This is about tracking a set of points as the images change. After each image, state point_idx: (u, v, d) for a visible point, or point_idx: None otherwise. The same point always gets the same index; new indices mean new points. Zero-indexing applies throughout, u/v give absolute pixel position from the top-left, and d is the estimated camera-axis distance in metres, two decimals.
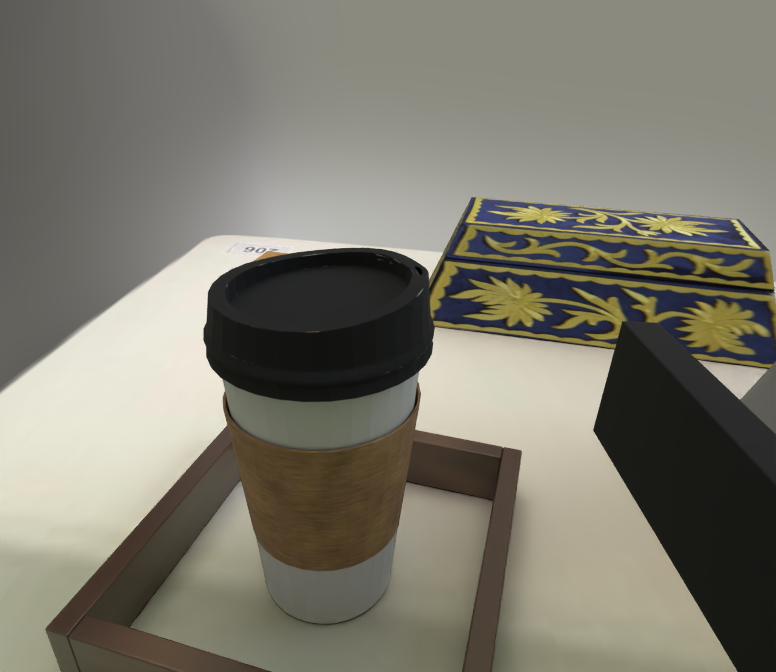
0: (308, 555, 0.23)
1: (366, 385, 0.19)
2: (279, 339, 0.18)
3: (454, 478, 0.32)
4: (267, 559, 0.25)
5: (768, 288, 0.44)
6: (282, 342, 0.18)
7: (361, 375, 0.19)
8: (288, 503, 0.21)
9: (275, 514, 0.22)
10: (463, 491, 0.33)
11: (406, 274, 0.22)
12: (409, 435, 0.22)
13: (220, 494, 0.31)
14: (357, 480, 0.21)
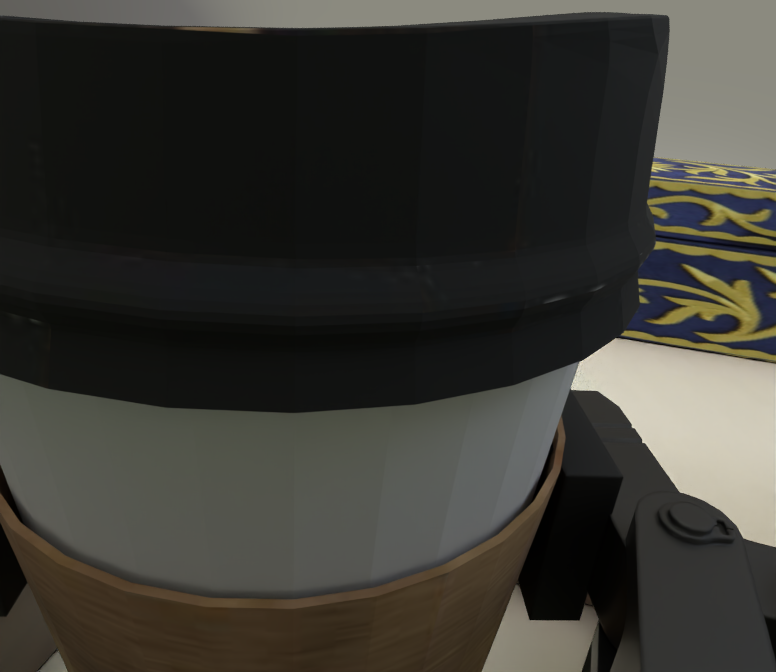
0: None
1: (465, 348, 0.04)
2: (47, 74, 0.04)
3: None
4: None
5: None
6: (60, 89, 0.03)
7: (451, 300, 0.04)
8: None
9: None
10: None
11: None
12: (537, 527, 0.08)
13: None
14: None
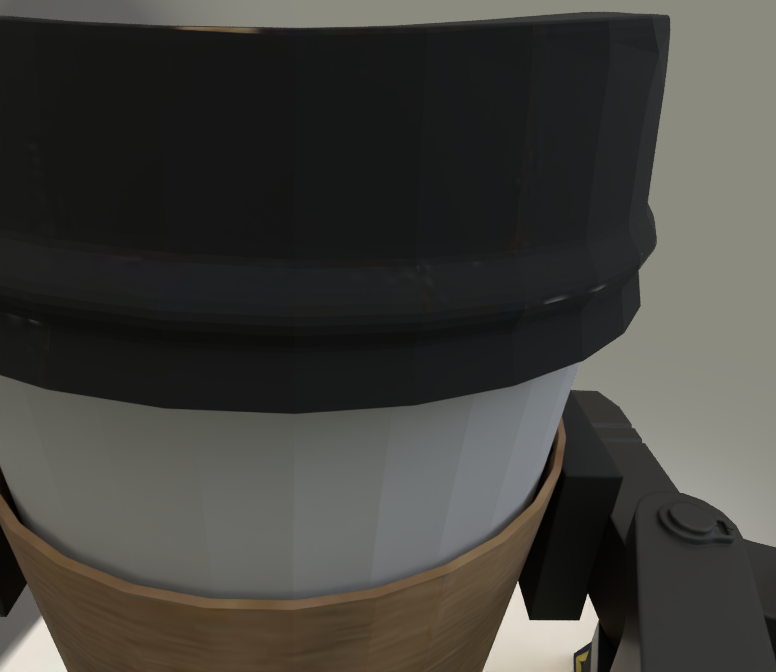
0: None
1: (465, 349, 0.04)
2: (46, 74, 0.03)
3: None
4: None
5: None
6: (59, 90, 0.03)
7: (449, 302, 0.04)
8: None
9: None
10: None
11: None
12: (538, 527, 0.08)
13: None
14: None
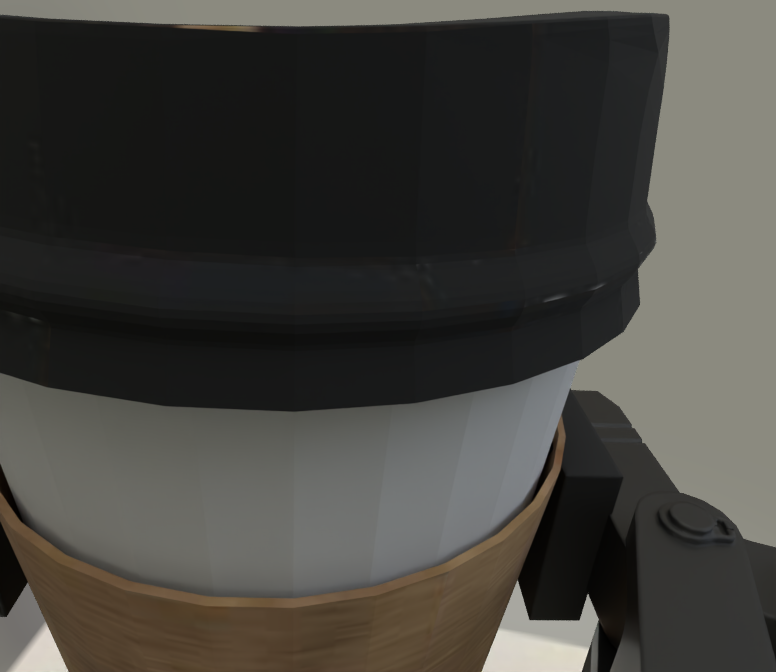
0: None
1: (465, 347, 0.04)
2: (47, 73, 0.04)
3: None
4: None
5: None
6: (58, 87, 0.03)
7: (449, 299, 0.04)
8: None
9: None
10: None
11: None
12: (537, 526, 0.08)
13: None
14: None
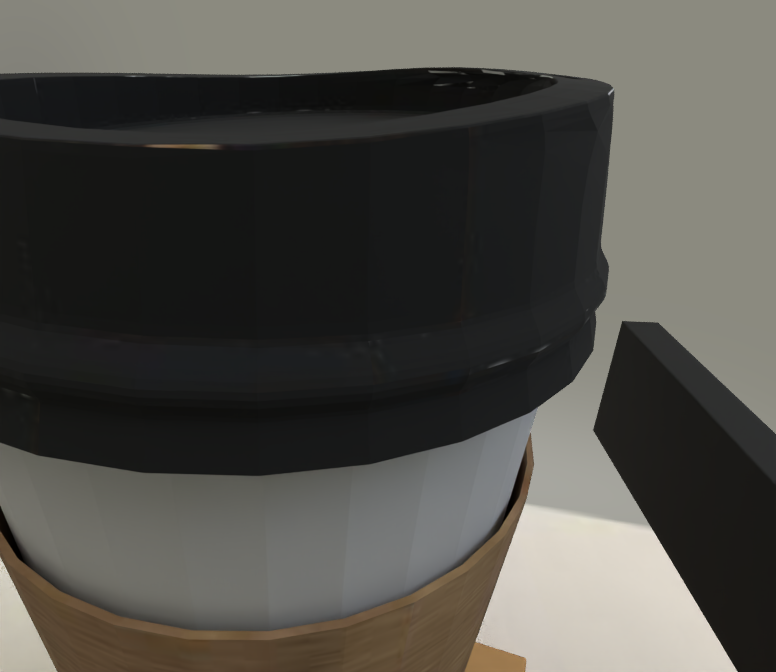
0: None
1: (415, 412, 0.05)
2: (33, 182, 0.04)
3: None
4: None
5: None
6: (42, 195, 0.04)
7: (399, 371, 0.04)
8: None
9: None
10: None
11: None
12: (507, 551, 0.08)
13: None
14: None
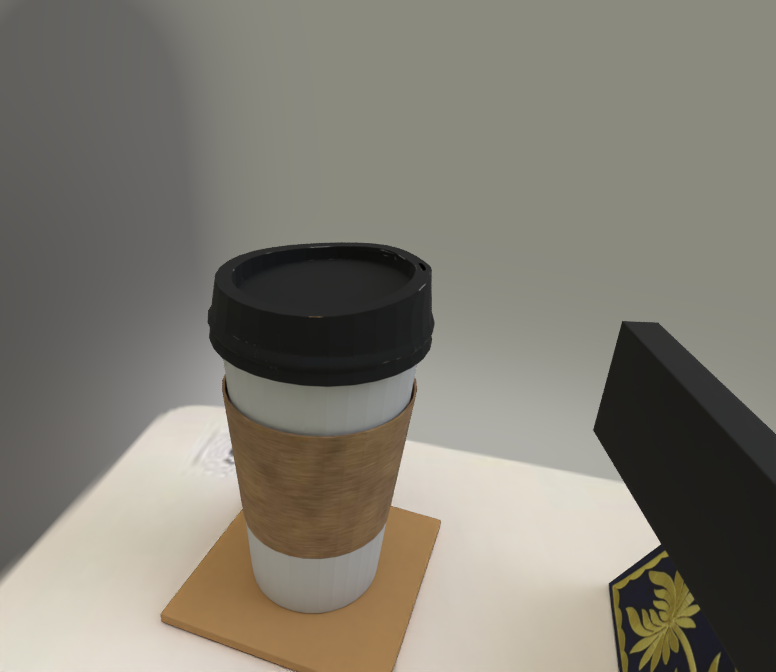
0: (297, 542, 0.23)
1: (364, 373, 0.19)
2: (282, 322, 0.19)
3: None
4: (255, 545, 0.25)
5: None
6: (284, 325, 0.18)
7: (360, 363, 0.19)
8: (280, 487, 0.22)
9: (266, 498, 0.22)
10: None
11: (410, 270, 0.22)
12: (403, 428, 0.23)
13: None
14: (349, 468, 0.21)
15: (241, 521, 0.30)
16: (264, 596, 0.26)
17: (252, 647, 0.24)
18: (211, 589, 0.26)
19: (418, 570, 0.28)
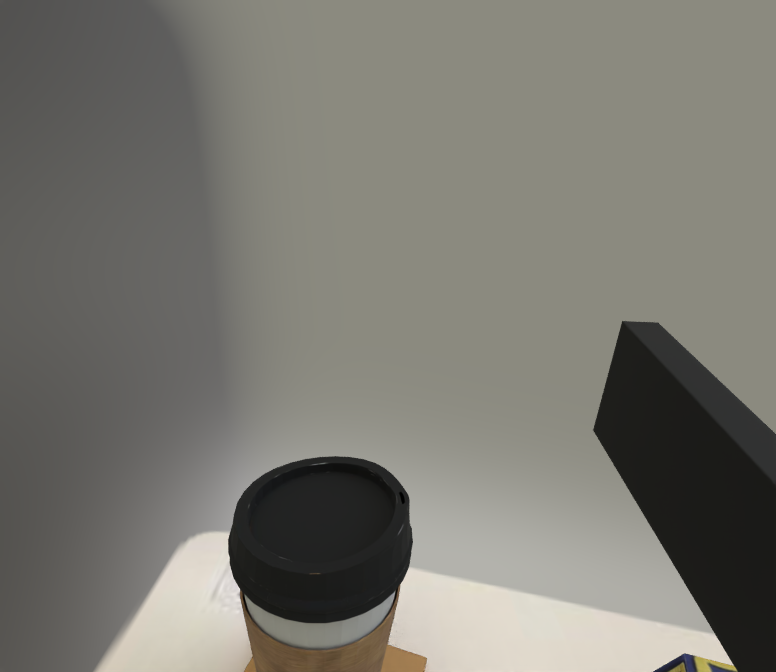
0: None
1: (354, 609, 0.24)
2: (288, 576, 0.24)
3: None
4: None
5: None
6: (290, 579, 0.24)
7: (351, 603, 0.24)
8: None
9: None
10: None
11: (392, 496, 0.27)
12: (388, 625, 0.28)
13: None
14: (344, 667, 0.26)
15: None
16: None
17: None
18: None
19: None
